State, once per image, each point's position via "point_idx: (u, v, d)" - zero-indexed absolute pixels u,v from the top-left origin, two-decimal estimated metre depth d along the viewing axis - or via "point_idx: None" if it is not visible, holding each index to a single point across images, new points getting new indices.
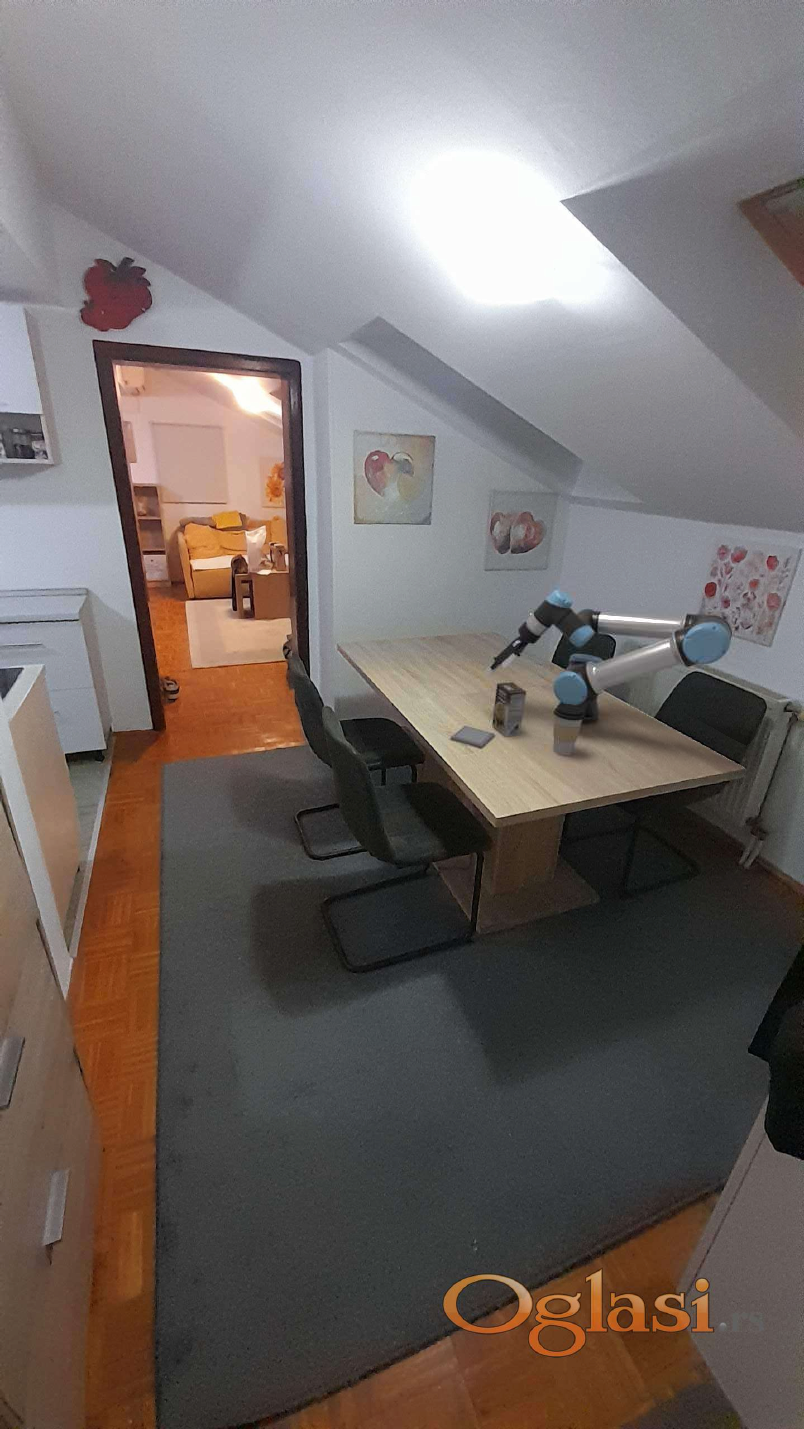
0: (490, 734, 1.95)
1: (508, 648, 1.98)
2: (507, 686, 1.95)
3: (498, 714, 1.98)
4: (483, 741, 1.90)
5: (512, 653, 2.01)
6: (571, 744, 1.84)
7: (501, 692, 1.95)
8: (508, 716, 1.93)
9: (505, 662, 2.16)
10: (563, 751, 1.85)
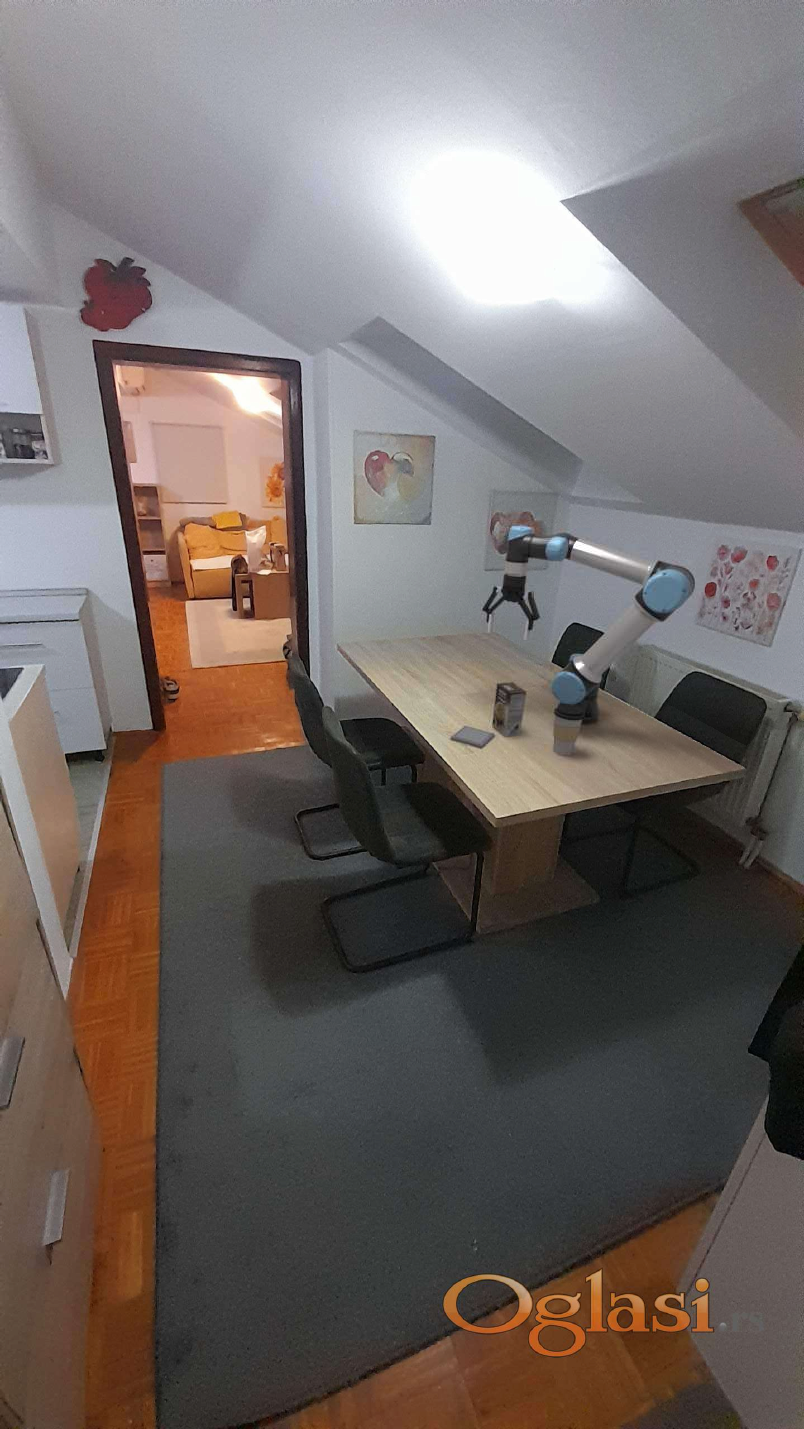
0: (490, 734, 1.95)
1: None
2: (507, 686, 1.95)
3: (498, 714, 1.98)
4: (483, 741, 1.90)
5: (498, 602, 2.02)
6: (571, 744, 1.84)
7: (501, 692, 1.95)
8: (508, 716, 1.93)
9: None
10: (563, 751, 1.85)
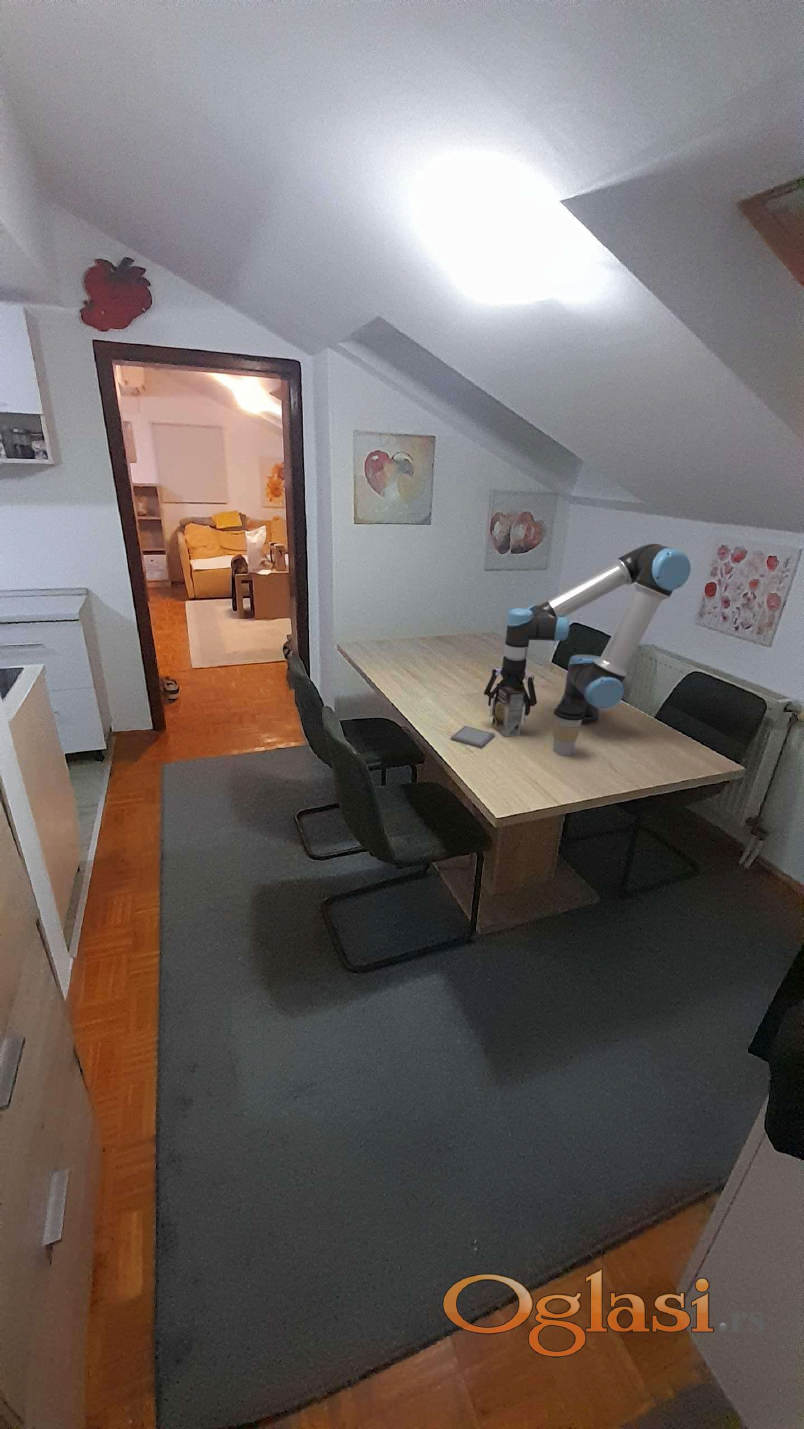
0: (490, 734, 1.95)
1: None
2: (507, 686, 1.95)
3: (498, 714, 1.98)
4: (483, 741, 1.90)
5: (499, 685, 1.95)
6: (571, 744, 1.84)
7: (501, 692, 1.95)
8: (508, 716, 1.93)
9: None
10: (563, 751, 1.85)
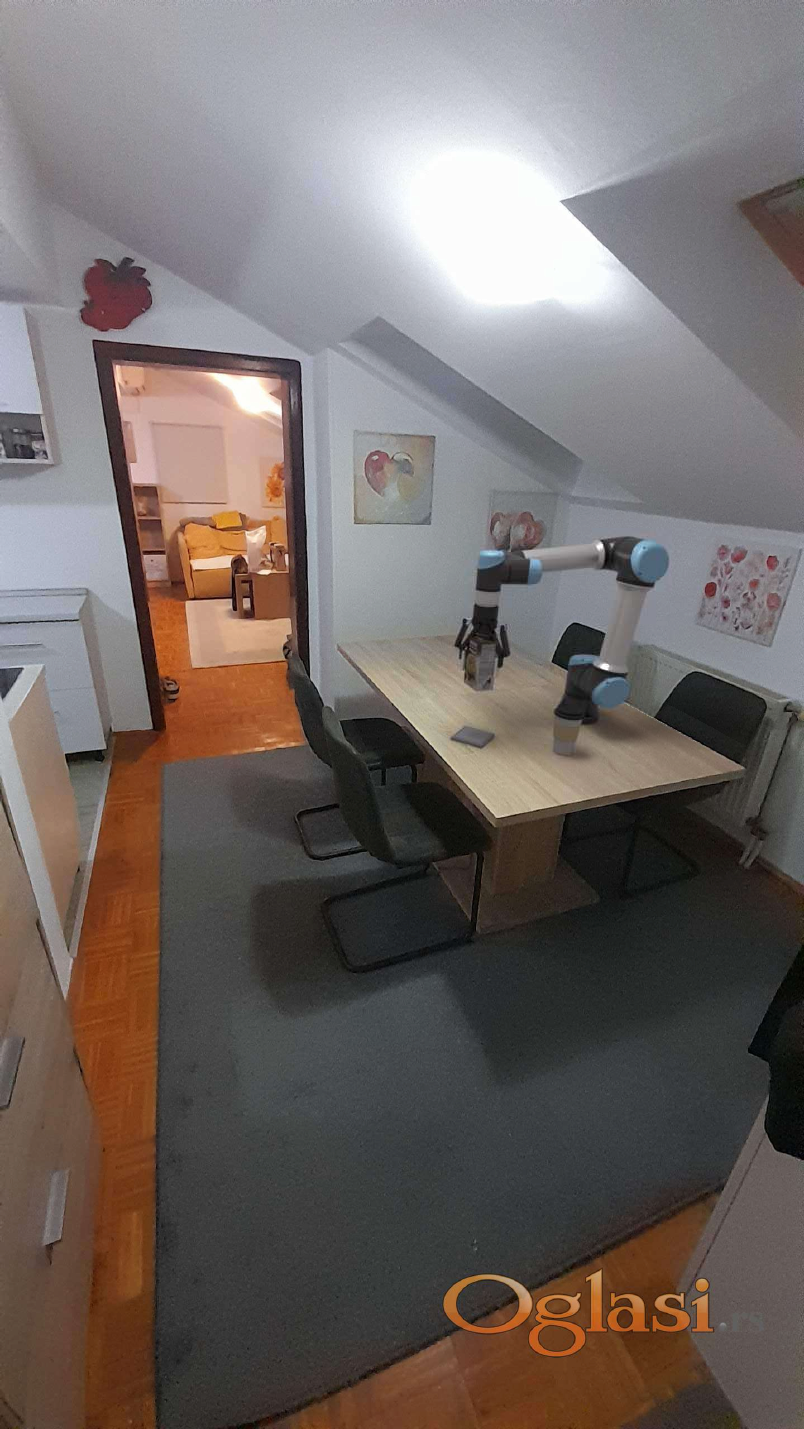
0: (490, 734, 1.95)
1: None
2: (479, 636, 1.81)
3: (469, 667, 1.84)
4: (483, 741, 1.90)
5: (470, 635, 1.81)
6: (571, 744, 1.84)
7: (472, 643, 1.81)
8: (479, 668, 1.79)
9: None
10: (563, 751, 1.85)
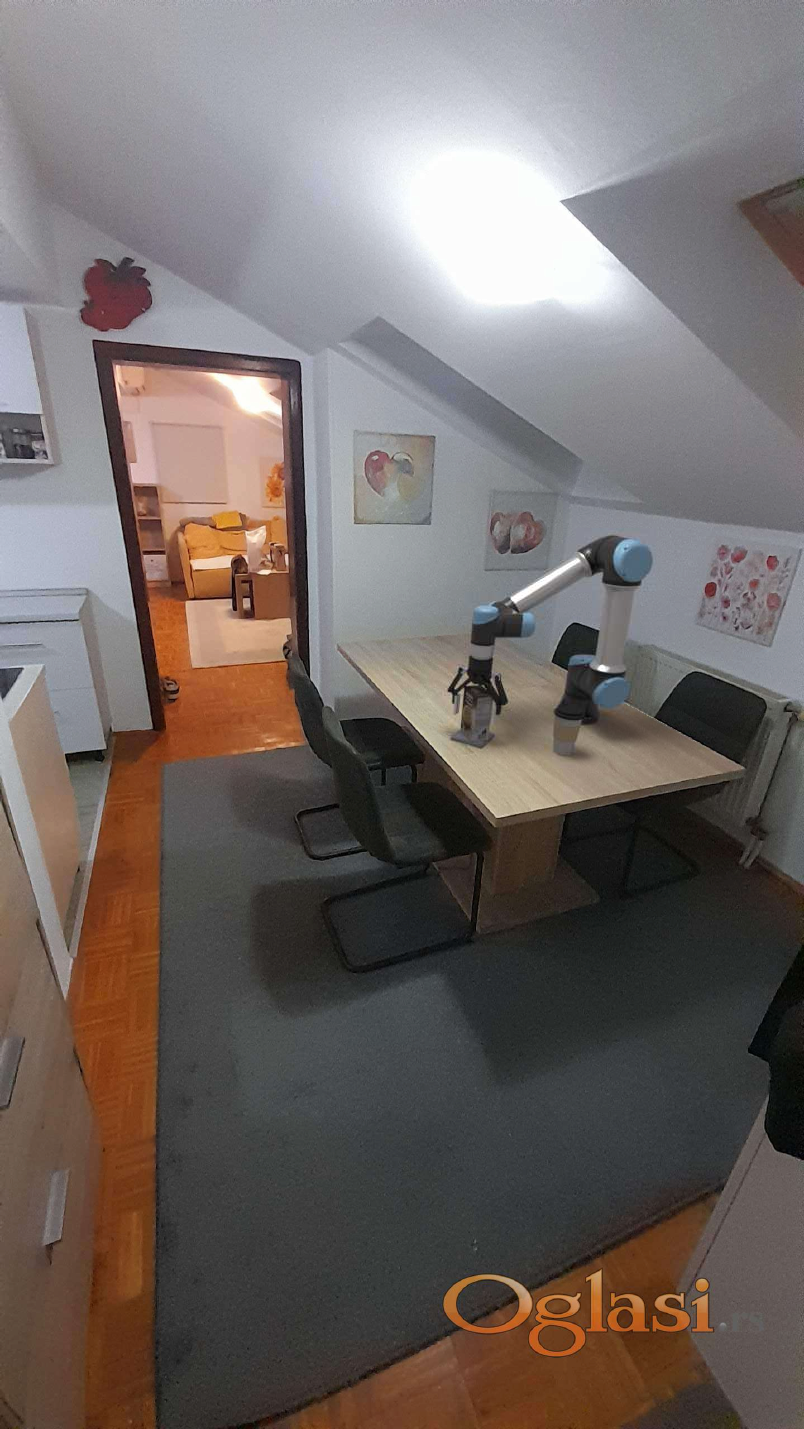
0: (490, 734, 1.95)
1: None
2: (475, 688, 1.88)
3: (465, 718, 1.91)
4: (483, 741, 1.90)
5: (464, 684, 1.88)
6: (571, 744, 1.84)
7: (468, 695, 1.88)
8: (475, 720, 1.86)
9: None
10: (563, 751, 1.85)
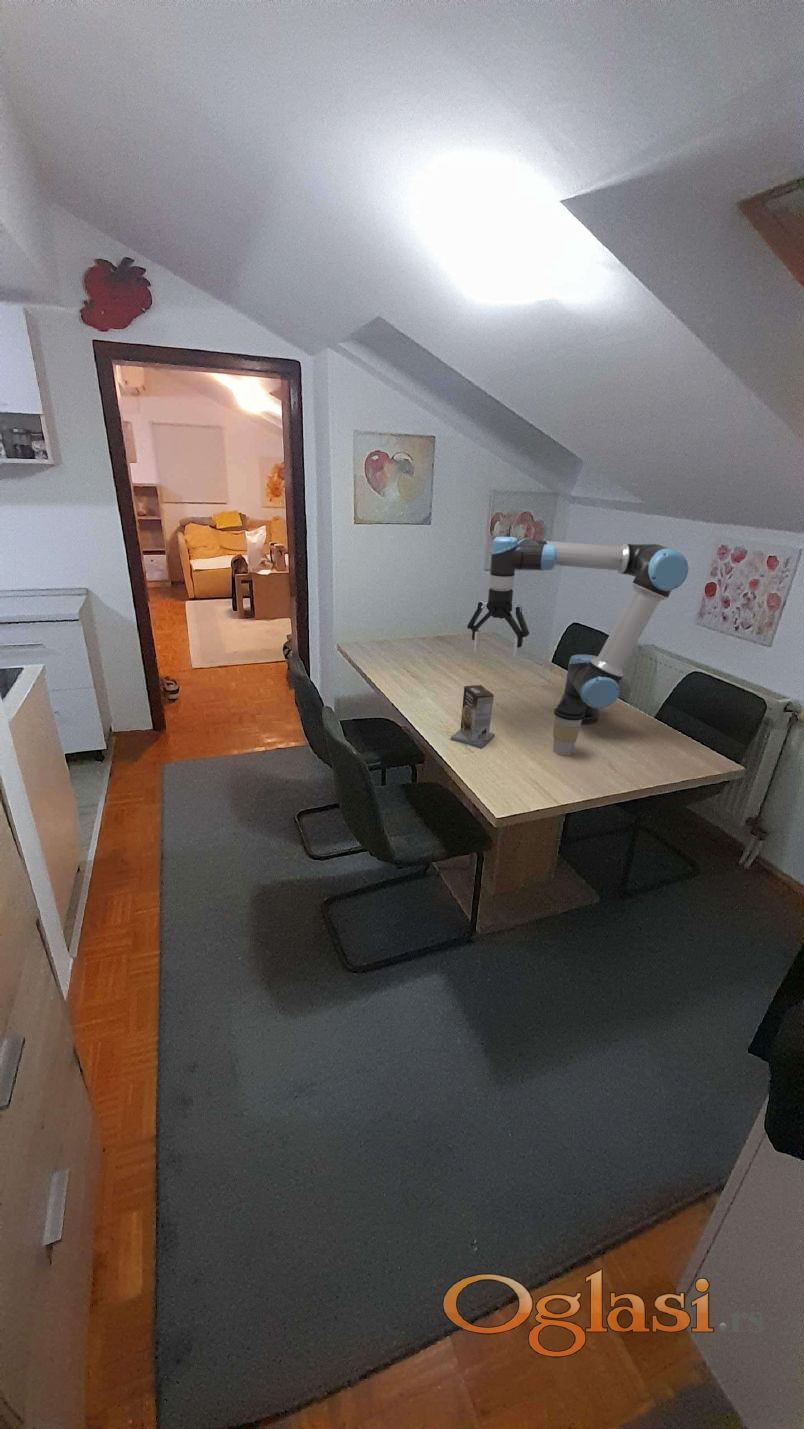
0: (490, 734, 1.95)
1: None
2: (475, 688, 1.88)
3: (465, 718, 1.91)
4: (483, 741, 1.90)
5: (484, 618, 1.89)
6: (571, 744, 1.84)
7: (468, 695, 1.88)
8: (475, 720, 1.86)
9: None
10: (563, 751, 1.85)
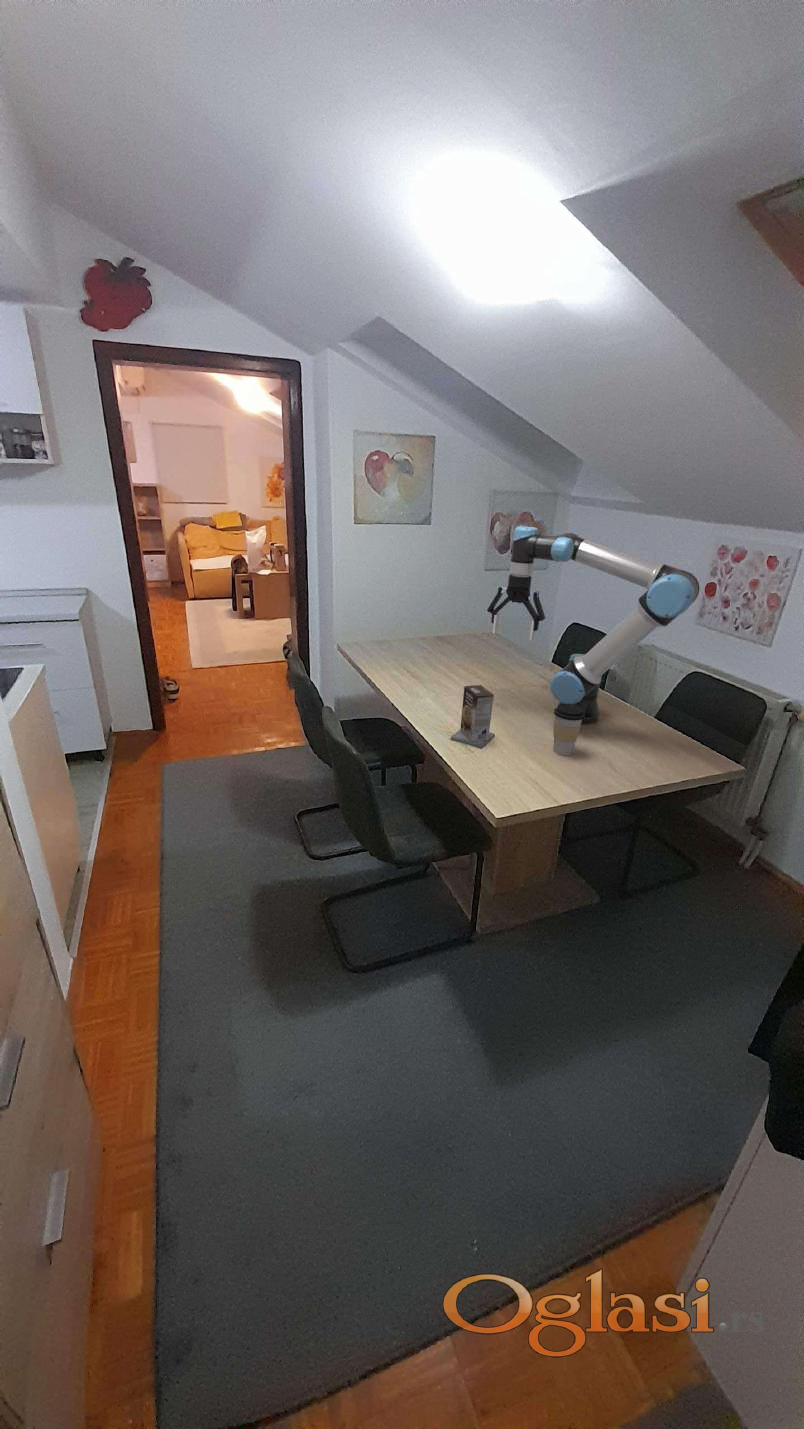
0: (490, 734, 1.95)
1: None
2: (475, 688, 1.88)
3: (465, 718, 1.91)
4: (483, 741, 1.90)
5: (503, 602, 2.02)
6: (571, 744, 1.84)
7: (468, 695, 1.88)
8: (475, 720, 1.86)
9: None
10: (563, 751, 1.85)
